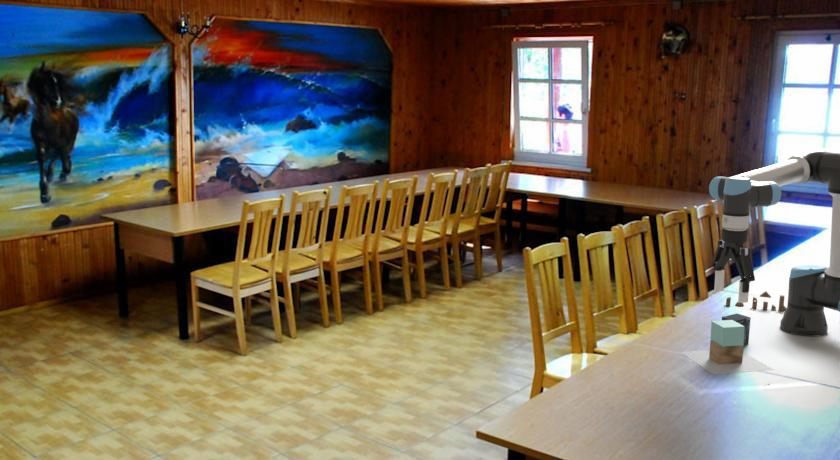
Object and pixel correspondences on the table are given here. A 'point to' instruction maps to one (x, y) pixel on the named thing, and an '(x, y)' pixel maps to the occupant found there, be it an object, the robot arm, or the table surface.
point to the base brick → (725, 353)
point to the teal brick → (727, 333)
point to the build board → (714, 368)
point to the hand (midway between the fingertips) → (730, 296)
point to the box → (743, 321)
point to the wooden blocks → (765, 304)
